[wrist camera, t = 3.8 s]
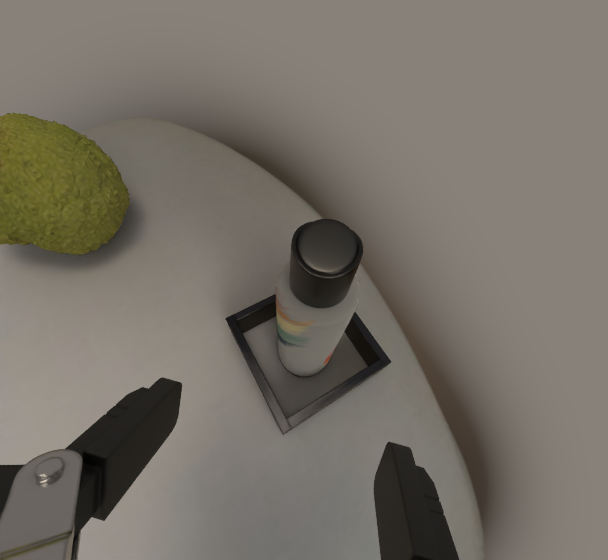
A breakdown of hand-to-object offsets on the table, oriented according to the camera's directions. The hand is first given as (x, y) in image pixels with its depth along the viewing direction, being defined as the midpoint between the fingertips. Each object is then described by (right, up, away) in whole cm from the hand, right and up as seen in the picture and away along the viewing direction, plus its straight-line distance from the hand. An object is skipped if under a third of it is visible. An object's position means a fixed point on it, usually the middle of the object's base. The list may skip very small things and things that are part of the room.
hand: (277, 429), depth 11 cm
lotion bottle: (+1, -2, +22) cm, 22 cm away
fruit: (-28, +13, +28) cm, 42 cm away
